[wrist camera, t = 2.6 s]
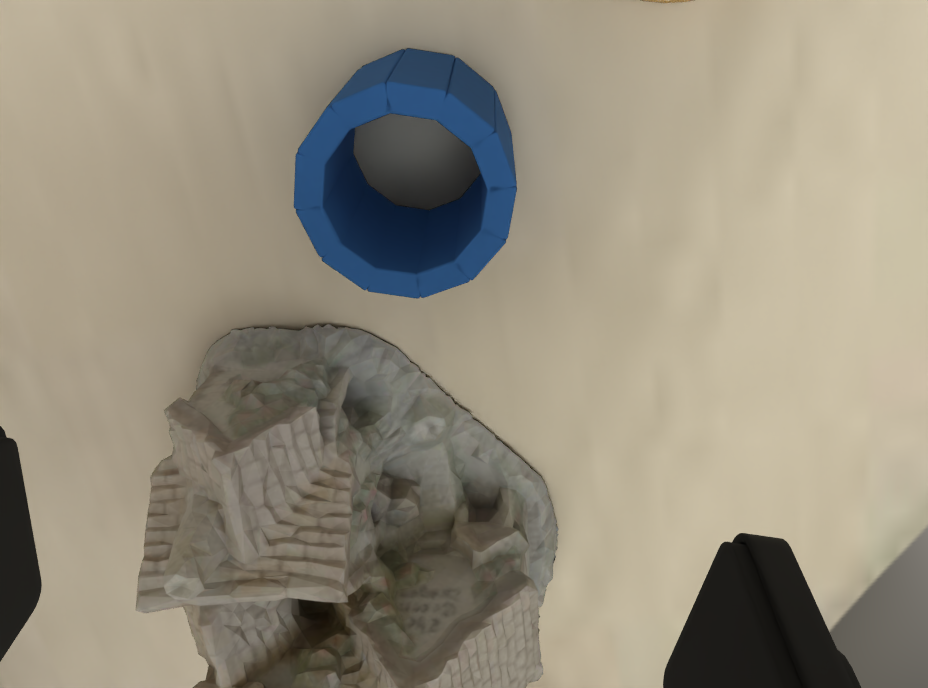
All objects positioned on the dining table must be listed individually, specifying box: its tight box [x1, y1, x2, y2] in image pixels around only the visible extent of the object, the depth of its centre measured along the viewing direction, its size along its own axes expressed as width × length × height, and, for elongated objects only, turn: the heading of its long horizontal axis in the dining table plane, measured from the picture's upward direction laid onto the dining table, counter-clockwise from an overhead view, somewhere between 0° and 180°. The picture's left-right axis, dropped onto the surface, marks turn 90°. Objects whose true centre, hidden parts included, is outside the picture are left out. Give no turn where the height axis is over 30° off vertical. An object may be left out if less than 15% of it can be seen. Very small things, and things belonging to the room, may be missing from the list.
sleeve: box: [294, 48, 517, 298], centre depth 23 cm, size 6×6×6 cm
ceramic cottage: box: [136, 324, 558, 688], centre depth 27 cm, size 16×16×15 cm
